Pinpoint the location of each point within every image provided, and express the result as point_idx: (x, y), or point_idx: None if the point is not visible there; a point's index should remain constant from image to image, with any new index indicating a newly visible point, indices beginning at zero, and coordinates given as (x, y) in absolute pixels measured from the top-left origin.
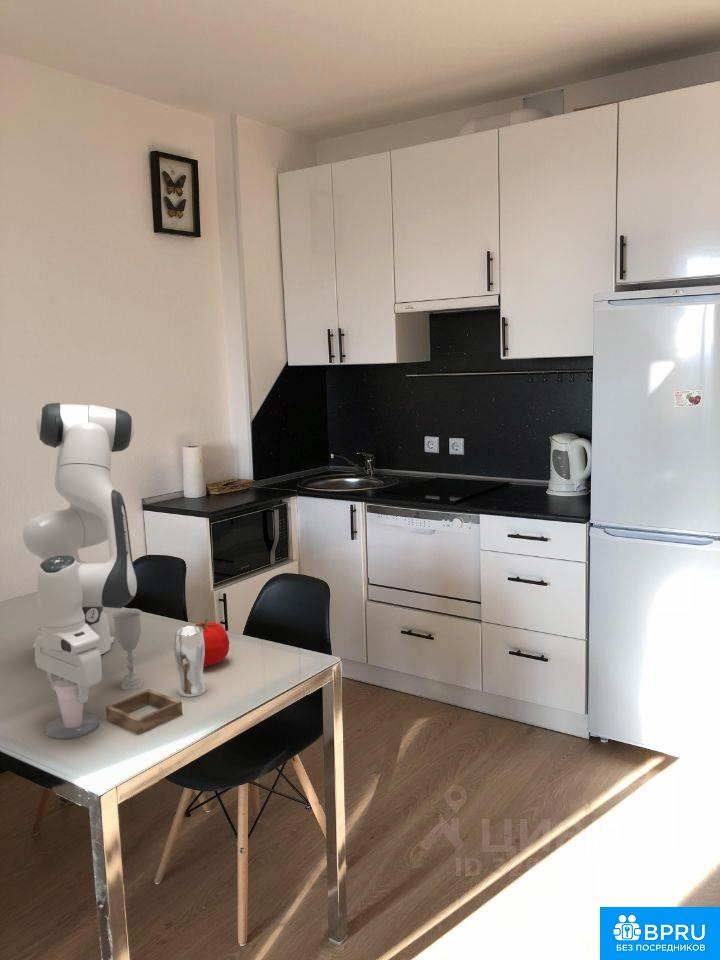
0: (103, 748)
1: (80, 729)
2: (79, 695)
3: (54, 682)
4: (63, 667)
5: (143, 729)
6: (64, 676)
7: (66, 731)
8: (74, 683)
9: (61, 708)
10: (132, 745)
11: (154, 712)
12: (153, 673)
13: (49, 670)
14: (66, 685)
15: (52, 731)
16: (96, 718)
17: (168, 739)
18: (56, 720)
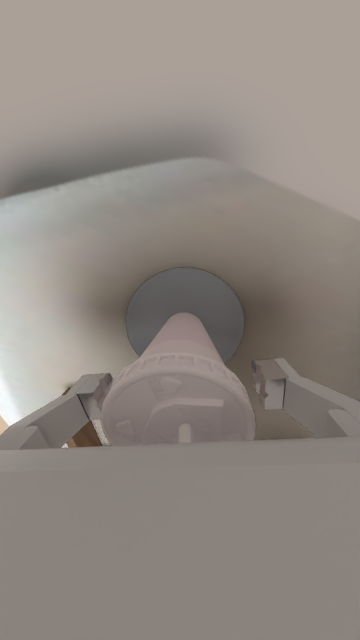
0: (48, 326)
1: (146, 329)
2: (69, 393)
3: (289, 388)
4: (23, 631)
5: None
6: (89, 467)
7: (158, 304)
8: (131, 434)
9: (176, 326)
10: (33, 364)
11: (69, 440)
12: None
13: (340, 458)
14: (141, 405)
15: (183, 280)
16: None
17: (26, 406)
18: (233, 313)
